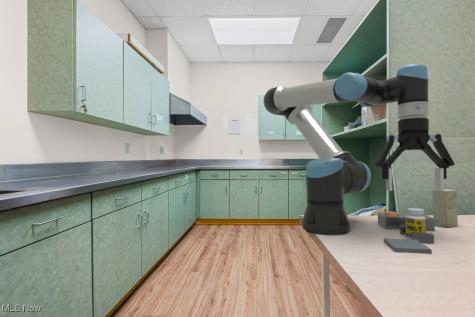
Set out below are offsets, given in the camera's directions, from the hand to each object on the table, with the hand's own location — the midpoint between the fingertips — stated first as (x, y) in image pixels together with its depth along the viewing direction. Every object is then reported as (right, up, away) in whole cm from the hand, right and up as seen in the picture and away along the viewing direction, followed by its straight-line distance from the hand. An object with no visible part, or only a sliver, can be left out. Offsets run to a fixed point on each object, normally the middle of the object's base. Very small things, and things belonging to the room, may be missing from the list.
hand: (413, 190), depth 76 cm
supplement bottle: (-1, -14, -2) cm, 14 cm away
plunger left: (0, -13, +11) cm, 17 cm away
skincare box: (+19, -14, +11) cm, 26 cm away
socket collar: (-1, -14, -2) cm, 14 cm away
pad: (-9, -14, -9) cm, 19 cm away
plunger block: (+4, -14, +10) cm, 18 cm away
